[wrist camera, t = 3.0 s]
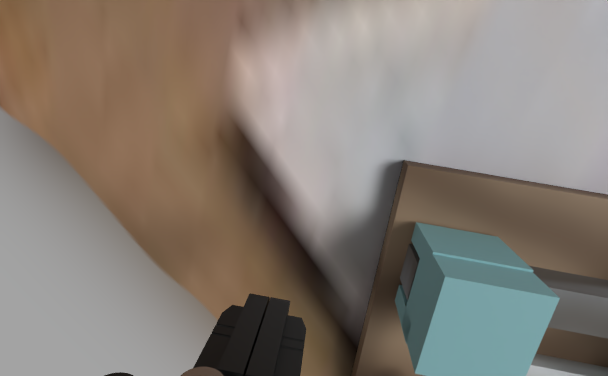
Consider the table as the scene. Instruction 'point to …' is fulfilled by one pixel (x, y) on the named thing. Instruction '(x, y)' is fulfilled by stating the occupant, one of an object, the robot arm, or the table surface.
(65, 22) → the table surface
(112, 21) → the table surface
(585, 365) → the board
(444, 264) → the sliding leg
